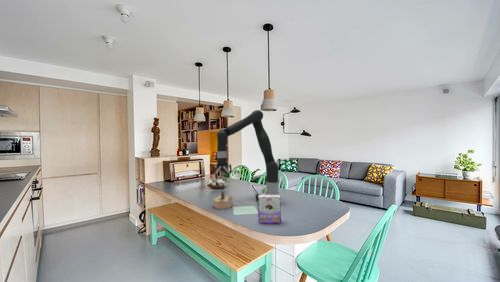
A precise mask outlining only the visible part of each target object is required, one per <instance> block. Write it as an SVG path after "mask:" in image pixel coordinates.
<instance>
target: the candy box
mask: <svg viewBox="0 0 500 282" xmlns="http://www.w3.org/2000/svg"><path fill="white" fill-rule="evenodd" d="M281 202H282V201H281V195H280V194H279V195H267V194H258V196H257V206H258V207H257V211H258V214H257V216H258V224H279V225H280V224H282V209H281V204H282V203H281Z"/></svg>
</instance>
